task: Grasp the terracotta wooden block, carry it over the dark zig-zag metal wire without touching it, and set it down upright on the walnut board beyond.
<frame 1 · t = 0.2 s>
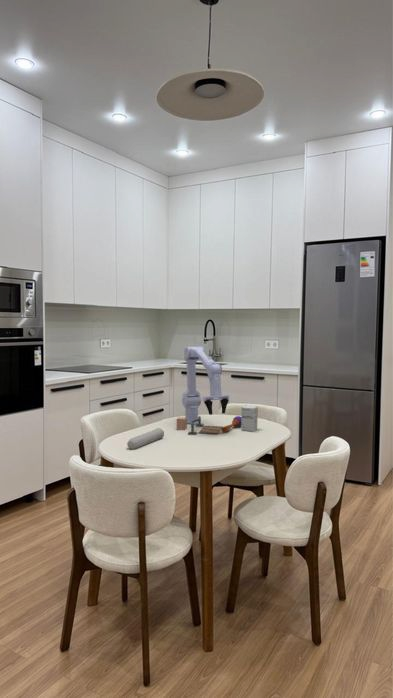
hand: (217, 414, 244), 10 cm above the table, tool pointing down, fingers open, 7 cm apart
tube: (145, 444, 225), on the table
block: (181, 429, 256), on the table
supplement box: (249, 430, 255), on the table
walnut board: (210, 430, 253), on the table
bent wire: (196, 429, 254), on the table
kendama: (232, 429, 256), on the table
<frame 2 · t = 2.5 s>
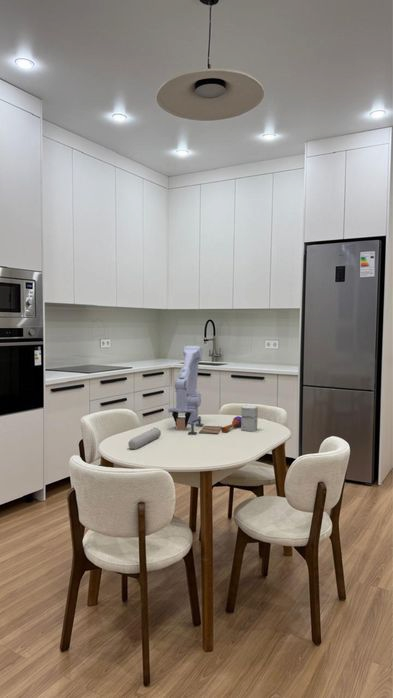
hand: (181, 426, 255), 2 cm above the table, tool pointing down, fingers closed on block, 4 cm apart
block: (181, 429, 256), on the table, touching gripper
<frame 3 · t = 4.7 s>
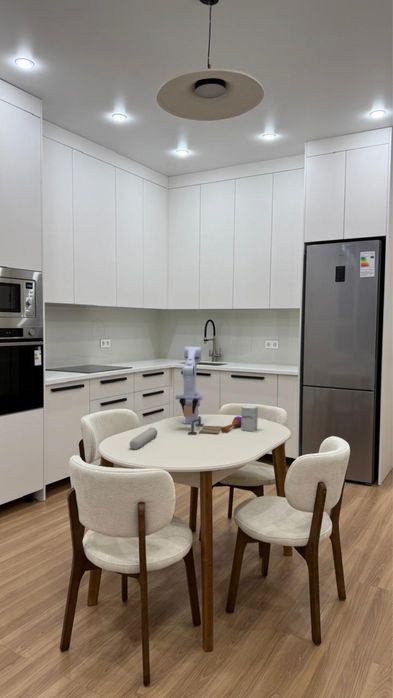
hand: (188, 412, 254), 9 cm above the table, tool pointing down, fingers closed on block, 4 cm apart
block: (188, 416, 254), point 7 cm above the table, touching gripper
when the fingers open (3 cm above the table, at t = 7.3 s): block stays where it is, resting on walnut board.
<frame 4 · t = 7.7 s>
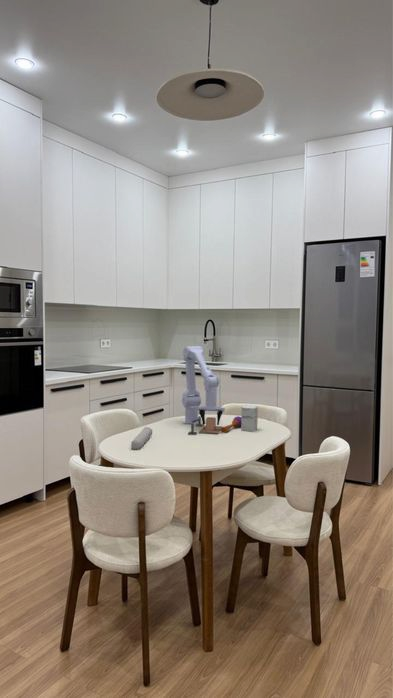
hand: (210, 424, 252), 3 cm above the table, tool pointing down, fingers open, 7 cm apart
block: (210, 429, 252), point 1 cm above the table, touching walnut board
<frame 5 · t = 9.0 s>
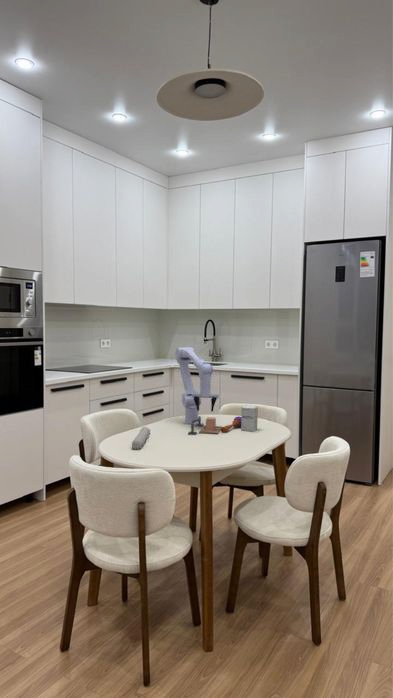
hand: (205, 410, 258), 9 cm above the table, tool pointing down, fingers open, 7 cm apart
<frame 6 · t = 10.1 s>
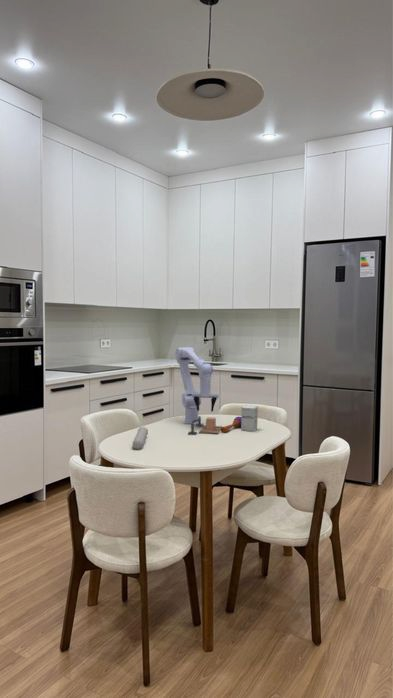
hand: (205, 410, 258), 9 cm above the table, tool pointing down, fingers open, 7 cm apart
at the end: block inside the target area (0.1 cm from its centre), point 0.6 cm above the table; block touching walnut board; block tilted 0° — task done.
